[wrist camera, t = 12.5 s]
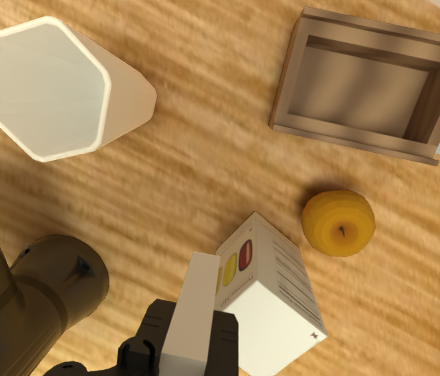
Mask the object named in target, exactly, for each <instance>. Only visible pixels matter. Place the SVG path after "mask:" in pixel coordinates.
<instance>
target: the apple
mask: <svg viewBox="0 0 440 376" xmlns="http://www.w3.org/2000/svg"><path fill="white" fill-rule="evenodd" d="M301 224H302V228H303V232H304V235H305V237H306V239H307V241H308V242H309V243H310V244H311V246H312V247H313V248H314V249H316V250H317V251H319V252H320V253H322V254H325V255H328V256H336V257H347V256H351V255H354V254H357V253H358V252H359V251H361V250H362V249H363V248H364V247H365V246H366V245H367V244H368V242H369V241H370V239H371V237H372V236H373V234H374V231H375V228H376V226H375V218H374V214H373V211H372V209H371V207H370V205H369V203H368V202H367V200H366V199H365V198H364V197H363V196H361V195H359V194H358V193H356V192H353V191H349V190H335V191H327V192H322V193H319V194H318V195H316V196H314V197H313V198H312V199H310V200H309V201H308V202H307V204H306V206H305V208H304V210H303V212H302V216H301Z"/></svg>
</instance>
